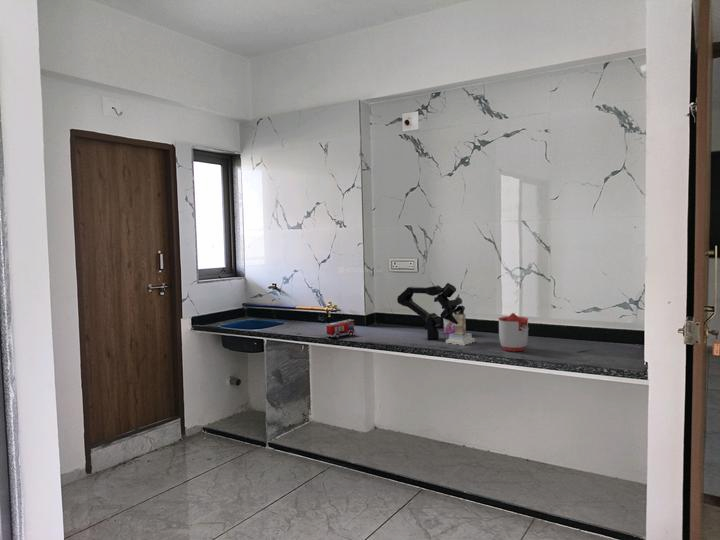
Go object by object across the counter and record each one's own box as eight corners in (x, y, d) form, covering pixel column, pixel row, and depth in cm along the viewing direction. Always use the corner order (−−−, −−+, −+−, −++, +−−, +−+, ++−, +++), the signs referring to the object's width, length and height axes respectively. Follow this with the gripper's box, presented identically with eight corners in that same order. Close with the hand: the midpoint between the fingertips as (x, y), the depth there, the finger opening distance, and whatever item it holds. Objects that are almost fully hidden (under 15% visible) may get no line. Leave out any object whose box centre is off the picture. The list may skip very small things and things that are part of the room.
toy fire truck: (357, 335, 354) (356, 320, 354) (332, 339, 344) (331, 323, 343) (349, 333, 362) (348, 318, 361) (324, 337, 351) (324, 322, 351)
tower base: (463, 345, 313) (463, 336, 312) (445, 343, 321) (445, 334, 321) (474, 341, 322) (474, 333, 321) (457, 339, 330) (456, 331, 329)
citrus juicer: (515, 354, 286) (515, 316, 285) (492, 349, 301) (492, 312, 300) (537, 350, 293) (537, 313, 292) (513, 345, 309) (513, 310, 307)
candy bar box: (443, 333, 351) (442, 308, 350) (449, 332, 354) (448, 307, 353) (455, 335, 342) (455, 309, 341) (461, 334, 345) (461, 308, 344)
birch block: (461, 336, 318) (461, 315, 317) (454, 336, 321) (454, 314, 320) (465, 335, 321) (465, 314, 320) (459, 334, 324) (458, 313, 323)
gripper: (444, 295, 315) (461, 315, 309) (461, 291, 329) (478, 311, 322) (433, 307, 321) (449, 328, 314) (451, 304, 335) (467, 323, 328)
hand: (461, 322), depth 320 cm, fingers open, 9 cm apart
